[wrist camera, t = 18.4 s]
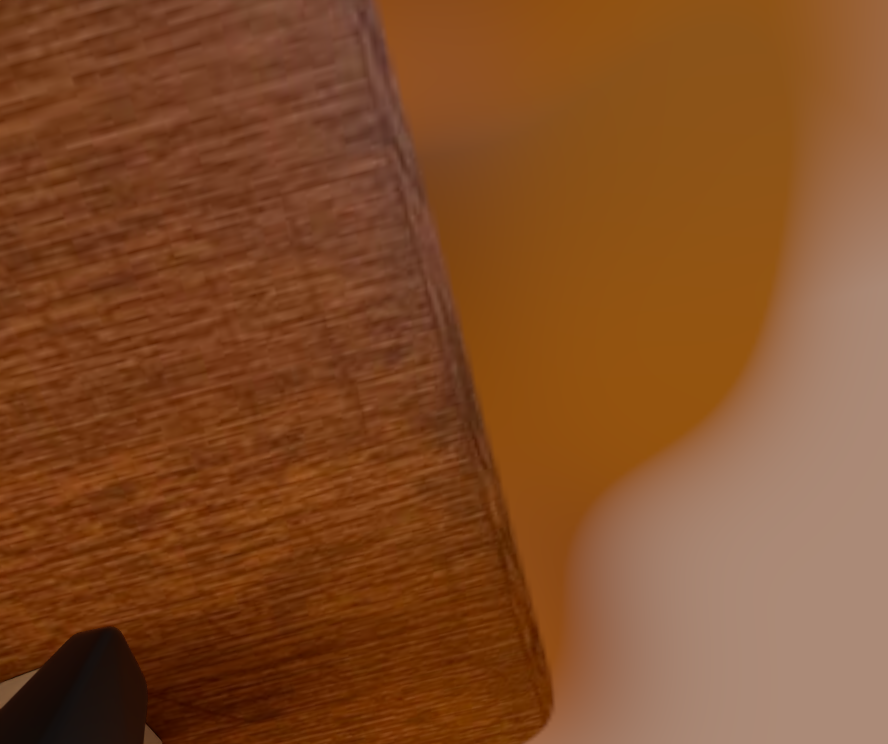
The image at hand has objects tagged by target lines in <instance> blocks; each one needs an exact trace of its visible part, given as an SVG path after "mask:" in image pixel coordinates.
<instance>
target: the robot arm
mask: <svg viewBox="0 0 888 744" xmlns="http://www.w3.org/2000/svg"><path fill="white" fill-rule="evenodd" d="M147 702H148V692H147V685H146V681H145V678H144V675H143V673H142V671H141V669H140V667H139V665H138V663H137V661H136V659H135V657H134V656H133V654H132V652H131V650H130V648H129V646H128V644H127V642H126V640H125V638H124V636H123V634H122V633H121V631H119V630H118V629H117V628H115V627H103V628H98V629H93V630H88V631H84V632H80V633H77V634H75V635H73V636H72V637H71V638H70V639H69V640H67V641H66V642H65V643H64V644H63V645H62V647H61V648H60V649H59V650H58V651H57V652H56V653H55V654H54V655H53V656H52V657H51V658H50V659H49V660H48V661H47V662H46V663H45V664H44V665H43V666H42V667H41V668H40V669H39V670H38V671H37V672H36V673H35V674H34V675H33V676H32V677H31V678H30V679H29V680H28V681H27V682H26V683H25V684H24V685H23V686H22V687H21V689H20V690H19V691H18V692H17V693H16V694H15V695H14V696H13V697H12V698H11V699H10V700H9V701H8V702H7V703H6V704H5V705H4V706H3V707H2V708H1V709H0V744H144V734H145V723H146V713H147Z"/></svg>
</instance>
